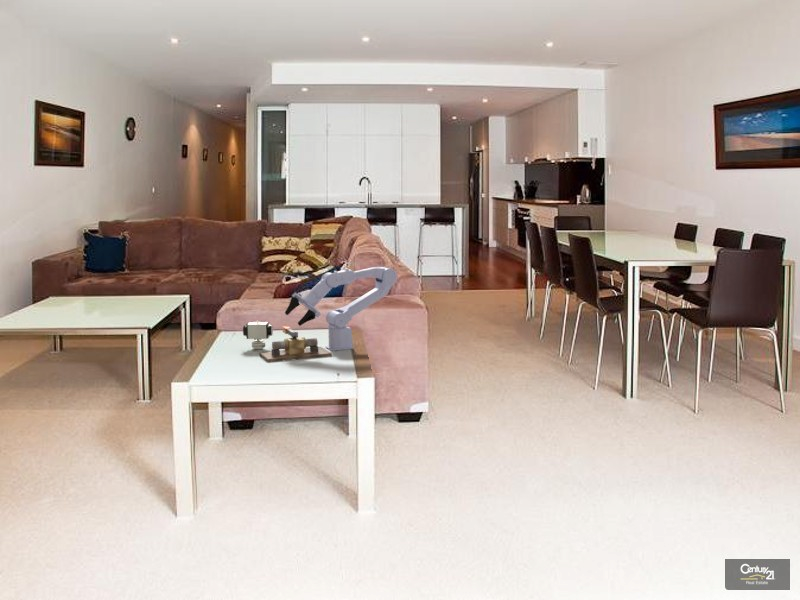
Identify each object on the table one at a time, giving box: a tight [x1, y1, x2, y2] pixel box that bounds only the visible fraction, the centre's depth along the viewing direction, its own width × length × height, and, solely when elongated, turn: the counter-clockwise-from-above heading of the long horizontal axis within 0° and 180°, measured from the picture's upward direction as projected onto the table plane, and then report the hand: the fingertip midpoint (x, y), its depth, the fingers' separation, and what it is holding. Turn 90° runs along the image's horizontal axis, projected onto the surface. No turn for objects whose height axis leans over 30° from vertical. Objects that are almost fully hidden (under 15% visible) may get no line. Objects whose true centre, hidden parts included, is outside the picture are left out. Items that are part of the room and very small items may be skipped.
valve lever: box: [282, 325, 299, 338], centre depth 327 cm, size 15×3×2 cm, turn 24°
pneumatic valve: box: [242, 320, 274, 350], centre depth 335 cm, size 6×12×12 cm, turn 90°
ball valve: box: [258, 336, 333, 363], centre depth 322 cm, size 26×14×7 cm, turn 113°
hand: (292, 319), depth 325 cm, fingers open, 7 cm apart
